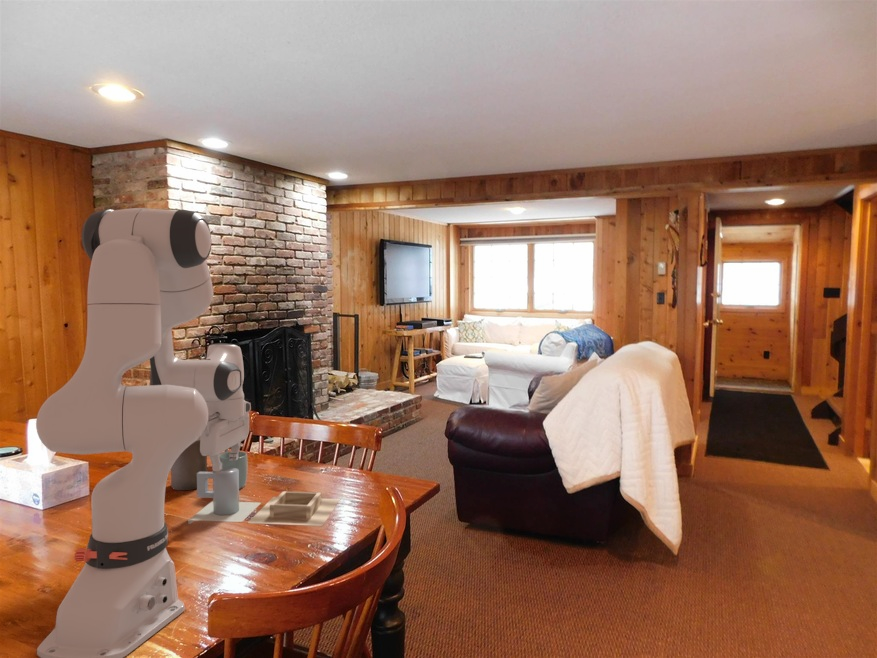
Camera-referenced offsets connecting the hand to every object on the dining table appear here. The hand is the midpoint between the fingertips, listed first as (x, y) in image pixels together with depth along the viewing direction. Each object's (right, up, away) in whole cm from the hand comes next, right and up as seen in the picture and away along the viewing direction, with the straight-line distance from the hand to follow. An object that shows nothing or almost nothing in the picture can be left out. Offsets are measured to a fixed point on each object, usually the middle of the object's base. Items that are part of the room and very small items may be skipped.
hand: (225, 465), depth 146 cm
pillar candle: (-19, -11, +24) cm, 32 cm away
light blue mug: (-2, -11, +1) cm, 12 cm away
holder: (+17, -13, +2) cm, 21 cm away
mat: (0, -13, +1) cm, 13 cm away
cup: (-5, -12, +20) cm, 23 cm away
